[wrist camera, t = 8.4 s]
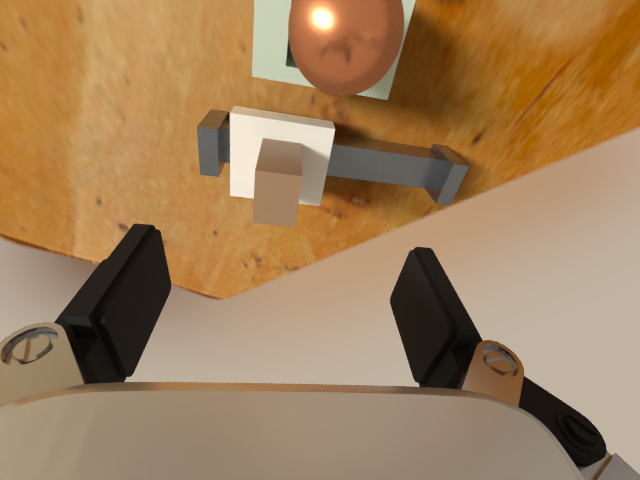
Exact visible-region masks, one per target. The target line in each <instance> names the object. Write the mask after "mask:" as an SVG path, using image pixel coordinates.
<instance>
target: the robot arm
mask: <svg viewBox="0 0 640 480" xmlns="http://www.w3.org/2000/svg"><path fill="white" fill-rule="evenodd" d="M170 290H171V280H170V275H169V271H168V266H167V261H166V256H165V251H164V246H163V241H162V237H161V232H160V230H157V229H155V227H154V226H153V225H146V224H134V225H133V226H132V227H131V228H130V230H129V231H128V232H127V234H126V235H125V236H124V238H123V239H122V240H121V242H120V243H119V244H118V246H117V247H116V248H115V249H114V251H113V252H112V253H111V255H110V256H109V257H108V259H105V260H103V261H102V262H101V263H100V264H99V265H98V267H97V268H96V269H95V271H94V272H93V273H92V274H91V276H90V277H89V278H88V280H87V281H86V282H85V284H84V285H83V286H82V287H81V289H80V290H79V291H78V292H77V294H76V295H75V296H74V298H73V299H72V300H71V301H70V303H69V304H68V305H67V307H66V308H65V309H64V311H63V312H62V313H61V314H60V316H59V317H58V318H57V320H56V321H55V322H54V323H50V322H44V323H36V324H32V325H29V326H26V327H24V328H21V329H19V330H17V331H15V332H14V333H12V334H11V335H9V336H8V337H6V338H5V339H4V340H3V341H2V342H1V343H0V480H640V475H639V474H638V473H637V472H636V471H635V470H634V469H633V468H632V467H631V466H629V465H628V464H627V463H626V462H625V461H624V460H623V459H622V458H621V457H620V456H618V455H617V454H616V453H615V454H613V455H611V454H610V453H608V452H607V450H606V444H605V442H604V440H603V437H602V435H601V434H600V433H599V431H598V430H597V428H596V427H595V426H594V425H593V424H592V423H591V422H590V421H589V420H588V419H587V418H586V417H584V416H583V415H582V414H580V413H579V412H578V411H576V410H575V409H573V408H572V407H570V406H569V405H567V404H566V403H564V402H563V401H561V400H560V399H558V398H557V397H555V396H553V395H552V394H550V393H549V392H547V391H546V390H544V389H543V388H541V387H540V386H538V385H537V384H535V383H534V382H532V381H531V380H529V379H528V378H526V377H524V368H523V366H522V363H521V361H520V360H519V358H518V357H517V356H516V355H515V354H514V353H513V352H512V351H511V350H510V349H509V348H507V347H506V346H504V345H502V344H500V343H498V342H495V341H490V340H485V341H483V340H482V339H481V337H480V335H479V333H478V331H477V329H476V327H475V326H474V324H473V322H472V320H471V318H470V316H469V315H468V313H467V311H466V309H465V307H464V306H463V304H462V302H461V300H460V299H459V297H458V295H457V293H456V291H455V290H454V288H453V286H452V284H451V282H450V280H449V279H448V277H447V275H446V273H445V271H444V270H443V268H442V266H441V264H440V263H439V261H438V259H437V257H436V255H435V254H434V252H433V250H432V249H431V248H423V247H416V248H415V249H414V250H411V251H410V252H409V254H408V256H407V259H406V261H405V263H404V266H403V268H402V271H401V273H400V275H399V278H398V280H397V283H396V285H395V287H394V290H393V292H392V295H391V298H390V304H391V307H392V311H393V314H394V317H395V320H396V324H397V326H398V330H399V333H400V336H401V340H402V343H403V346H404V349H405V352H406V355H407V359H408V361H409V365H410V368H411V372H412V375H413V378H414V380H415V381H416V382H418V383H419V385H420V387H405V386H367V385H366V386H365V385H322V384H321V385H319V384H267V383H265V384H264V383H196V382H193V383H192V382H124V381H125V379H126V377H130V376H132V374H133V373H134V371H135V368H136V366H137V364H138V362H139V360H140V358H141V355H142V353H143V351H144V349H145V346H146V344H147V342H148V340H149V337H150V335H151V333H152V331H153V329H154V326H155V324H156V322H157V320H158V318H159V315H160V313H161V311H162V309H163V307H164V304H165V302H166V300H167V298H168V295H169V293H170Z"/></svg>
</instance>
